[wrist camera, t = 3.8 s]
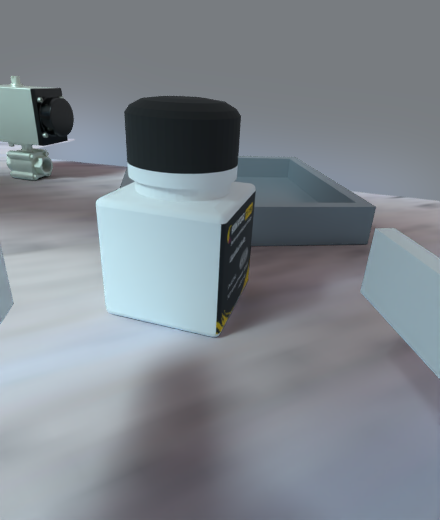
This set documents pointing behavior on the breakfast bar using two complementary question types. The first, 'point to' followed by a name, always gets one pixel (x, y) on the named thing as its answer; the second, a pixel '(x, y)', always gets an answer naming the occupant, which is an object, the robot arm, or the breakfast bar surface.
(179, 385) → the breakfast bar surface
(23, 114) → the pneumatic valve
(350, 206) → the tray
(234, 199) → the medicine bottle
